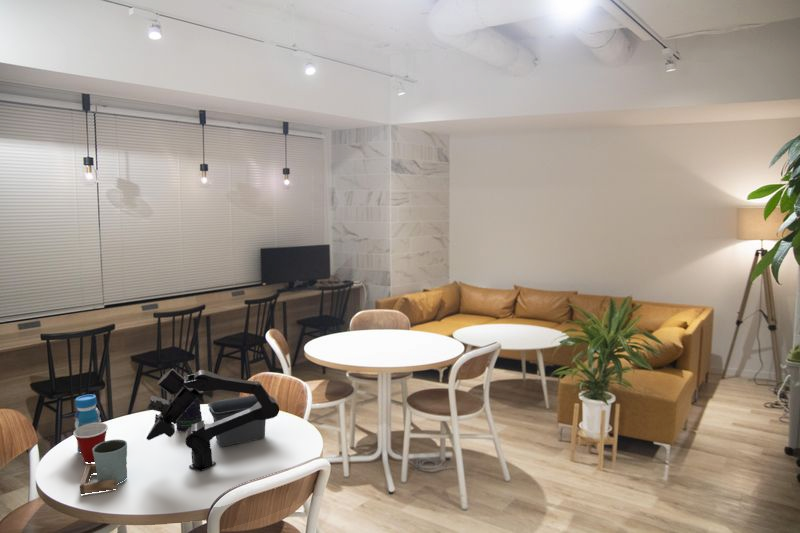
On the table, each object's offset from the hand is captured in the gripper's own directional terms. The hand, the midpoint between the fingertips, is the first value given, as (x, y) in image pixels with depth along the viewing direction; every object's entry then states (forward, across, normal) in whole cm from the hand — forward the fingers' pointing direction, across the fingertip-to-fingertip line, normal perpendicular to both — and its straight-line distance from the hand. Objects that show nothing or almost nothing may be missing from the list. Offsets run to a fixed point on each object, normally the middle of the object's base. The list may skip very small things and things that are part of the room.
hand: (147, 439), depth 196 cm
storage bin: (-14, -17, +31) cm, 38 cm away
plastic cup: (+22, -19, -4) cm, 30 cm away
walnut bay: (+19, 0, -1) cm, 19 cm away
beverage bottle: (+24, -30, -6) cm, 39 cm away
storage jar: (0, -38, +18) cm, 42 cm away
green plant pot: (+17, 0, +1) cm, 17 cm away
